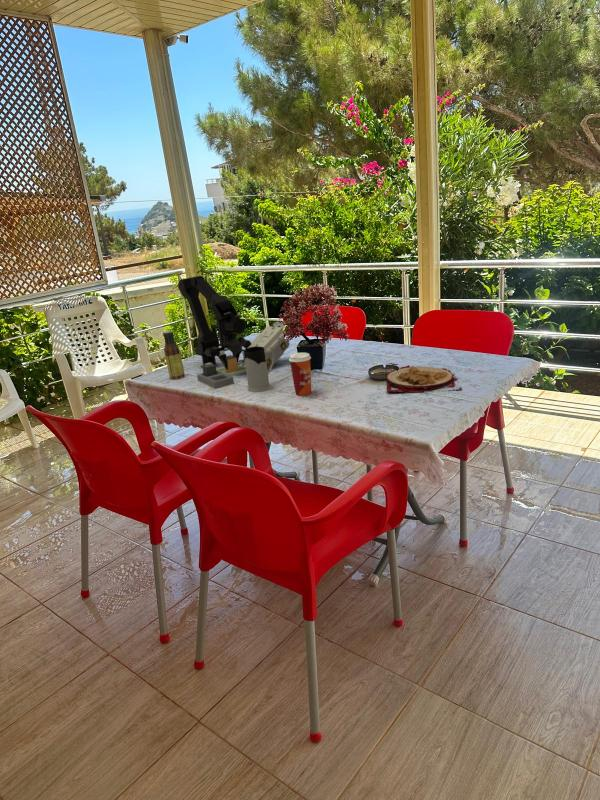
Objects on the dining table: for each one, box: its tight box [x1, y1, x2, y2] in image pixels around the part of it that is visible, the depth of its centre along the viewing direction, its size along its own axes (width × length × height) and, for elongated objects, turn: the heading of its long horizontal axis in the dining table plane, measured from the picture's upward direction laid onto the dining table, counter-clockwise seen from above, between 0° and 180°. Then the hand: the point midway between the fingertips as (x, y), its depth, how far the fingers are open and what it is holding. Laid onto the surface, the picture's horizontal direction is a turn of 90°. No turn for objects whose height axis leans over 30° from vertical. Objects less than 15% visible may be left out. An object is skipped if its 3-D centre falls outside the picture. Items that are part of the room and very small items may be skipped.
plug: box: [225, 354, 238, 373], centre depth 228 cm, size 4×4×7 cm
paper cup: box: [288, 352, 312, 397], centre depth 194 cm, size 8×8×14 cm
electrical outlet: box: [236, 321, 290, 371], centre depth 230 cm, size 12×28×10 cm, turn 138°
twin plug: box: [201, 363, 217, 377], centre depth 220 cm, size 4×4×7 cm
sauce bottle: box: [162, 330, 185, 381], centre depth 227 cm, size 7×6×20 cm
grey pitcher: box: [243, 347, 274, 393], centre depth 206 cm, size 9×14×15 cm, turn 139°
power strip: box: [196, 370, 235, 390], centre depth 218 cm, size 16×8×3 cm, turn 35°
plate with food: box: [385, 362, 463, 393], centre depth 196 cm, size 25×26×4 cm
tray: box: [216, 364, 246, 377], centre depth 229 cm, size 11×11×2 cm
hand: (231, 368), depth 229 cm, fingers closed on plug, 4 cm apart
